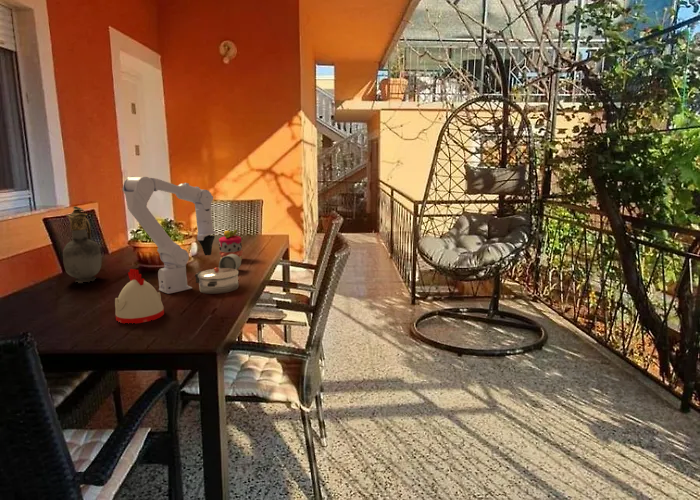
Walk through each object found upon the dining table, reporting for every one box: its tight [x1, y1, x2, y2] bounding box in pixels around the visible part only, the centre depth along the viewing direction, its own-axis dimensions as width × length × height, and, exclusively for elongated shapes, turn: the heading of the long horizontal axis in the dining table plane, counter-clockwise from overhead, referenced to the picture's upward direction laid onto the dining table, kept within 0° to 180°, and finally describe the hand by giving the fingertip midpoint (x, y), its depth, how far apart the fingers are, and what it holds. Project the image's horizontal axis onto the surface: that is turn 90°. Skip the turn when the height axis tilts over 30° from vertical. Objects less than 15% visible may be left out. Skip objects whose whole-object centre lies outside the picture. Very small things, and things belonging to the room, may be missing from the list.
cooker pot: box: [195, 274, 239, 295], centre depth 179 cm, size 15×20×5 cm
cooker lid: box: [194, 266, 239, 280], centre depth 179 cm, size 15×15×2 cm
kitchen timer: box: [114, 268, 165, 325], centre depth 149 cm, size 14×14×15 cm
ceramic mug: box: [218, 254, 242, 270], centre depth 205 cm, size 11×8×8 cm
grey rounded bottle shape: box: [62, 206, 102, 284], centre depth 193 cm, size 11×19×30 cm, turn 10°
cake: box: [218, 228, 244, 262], centre depth 225 cm, size 10×11×15 cm
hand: (208, 254), depth 189 cm, fingers closed
